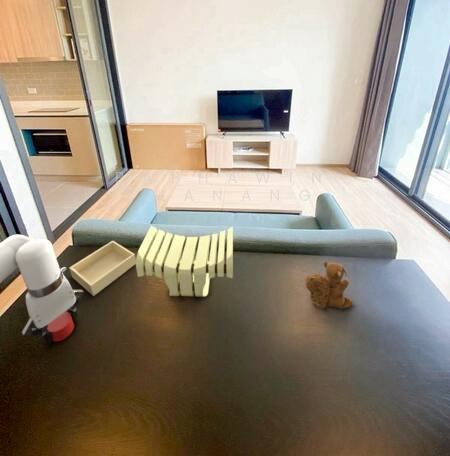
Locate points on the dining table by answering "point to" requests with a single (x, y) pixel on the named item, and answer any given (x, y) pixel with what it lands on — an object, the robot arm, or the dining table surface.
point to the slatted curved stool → (185, 261)
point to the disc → (61, 327)
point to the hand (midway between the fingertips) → (61, 328)
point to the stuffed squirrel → (329, 287)
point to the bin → (102, 267)
